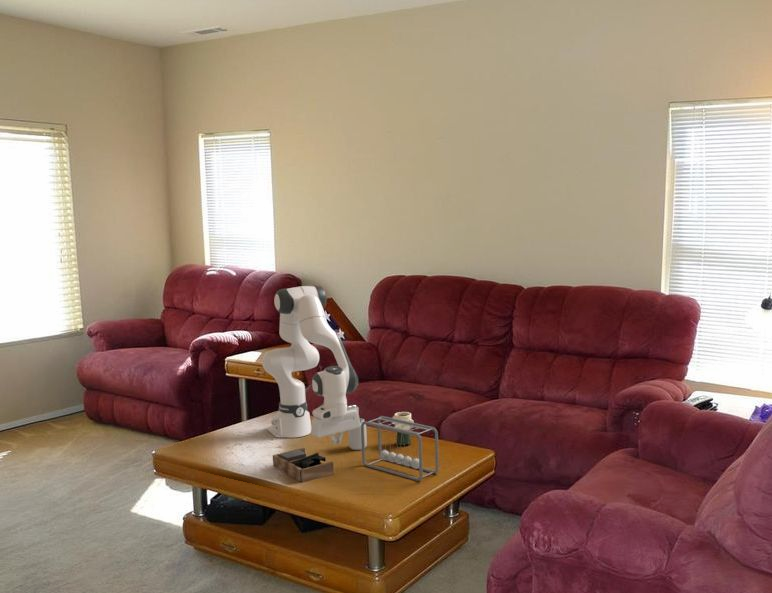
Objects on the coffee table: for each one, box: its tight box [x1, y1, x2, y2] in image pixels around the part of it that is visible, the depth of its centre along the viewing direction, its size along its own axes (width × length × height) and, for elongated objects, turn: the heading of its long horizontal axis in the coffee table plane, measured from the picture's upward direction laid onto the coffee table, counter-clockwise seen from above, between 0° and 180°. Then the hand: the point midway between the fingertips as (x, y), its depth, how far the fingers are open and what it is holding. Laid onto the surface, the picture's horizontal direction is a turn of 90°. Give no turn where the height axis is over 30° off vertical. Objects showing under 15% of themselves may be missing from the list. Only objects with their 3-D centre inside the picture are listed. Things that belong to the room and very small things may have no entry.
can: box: [347, 417, 368, 451], centre depth 310 cm, size 8×8×12 cm
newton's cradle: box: [361, 415, 440, 482], centre depth 282 cm, size 30×10×18 cm, turn 48°
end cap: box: [295, 452, 327, 469], centre depth 282 cm, size 10×7×7 cm
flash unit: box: [279, 449, 307, 461], centre depth 290 cm, size 6×8×6 cm
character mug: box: [392, 411, 415, 446], centre depth 312 cm, size 11×7×13 cm, turn 51°
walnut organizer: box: [272, 447, 335, 483], centre depth 286 cm, size 23×14×4 cm, turn 36°
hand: (336, 443), depth 289 cm, fingers closed
